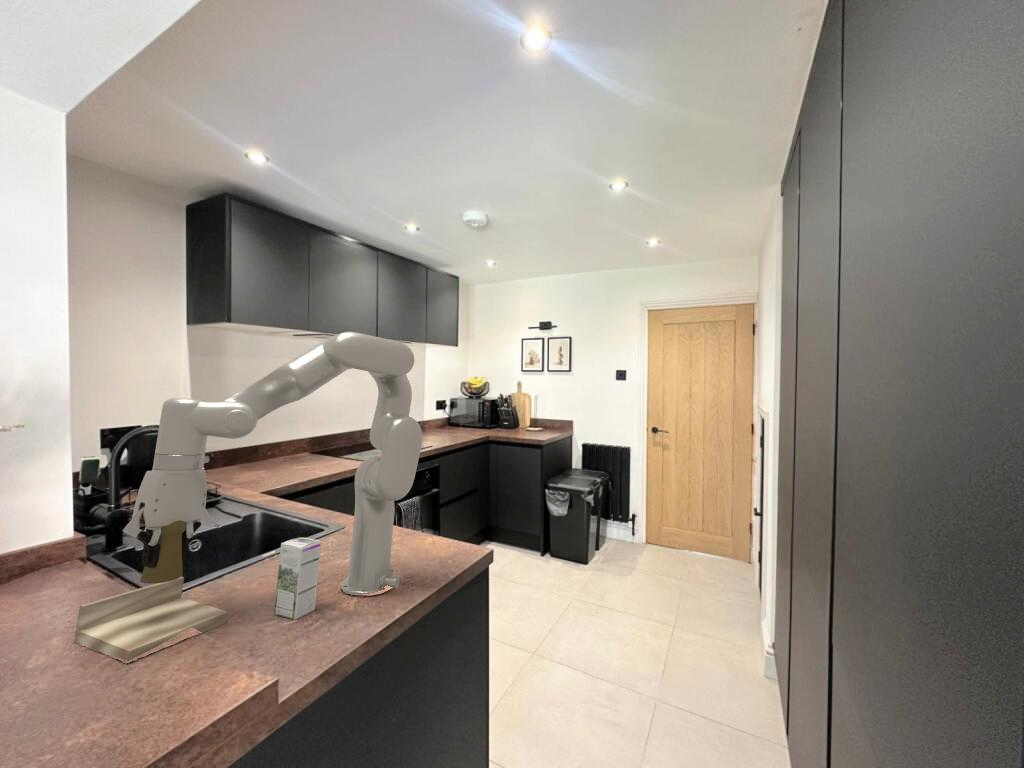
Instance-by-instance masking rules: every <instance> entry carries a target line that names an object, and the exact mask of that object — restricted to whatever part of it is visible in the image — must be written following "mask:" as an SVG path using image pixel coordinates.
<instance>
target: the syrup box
mask: <svg viewBox="0 0 1024 768" xmlns="http://www.w3.org/2000/svg"><path fill="white" fill-rule="evenodd" d="M321 549H322V540H318V539H313V538H308V537H300V536H299V537H296V538H291V539H289V540H286V541H284V542H281V543H280V552H279V561H278V570H277V571H278V572H277V580H276V581H277V582H276V591H275V599H274V600H275V601H274V608H273V609H274V610H273V615H275V616H279V617H282V618H286V619H289V620H293V621H295V620H298V619H299V618H302V617H303V616H305V615H307V614H310V613H311V612H313V611H315V609H316V603H317V602H316V601H317V589H318V578H319V567H320V559H321Z"/></svg>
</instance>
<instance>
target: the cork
mask: <svg viewBox="0 0 1024 768" xmlns="http://www.w3.org/2000/svg"><path fill="white" fill-rule="evenodd" d="M186 527H187V523H186V522H184V521H181V520H180V521H175V522H173V523H171V524H170V525H167V526H165V527H162V529H161V534H160V537H159V539H158V542H157V544H158V545H160V553H159V559H158V563H157V566H156V567H155V568H149V567H145V566H143V570H142V574H141V576H140V582H141V583H142V584H150V585H153V584H157V583H164V582H169V581H173V580H176V579H178V578H180V577H183V573H184V572H183V561H182V533H183V532H184V531H185V529H186ZM152 531H153V530H152Z"/></svg>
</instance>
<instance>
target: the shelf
mask: <svg viewBox="0 0 1024 768" xmlns="http://www.w3.org/2000/svg"><path fill="white" fill-rule="evenodd" d="M184 579H185V577H184V576H182V577H180V578H178V579H176V580H173V581H169V582H164V583H156V584H150V585H145V586H142V587H139V588H135V589H133V590H130V591H125V592H123V593H119V594H115V595H112V596H108V597H106V598H101V599H97V600H95V601H91V602H87V603H84V604H83V603H82V604H80V605H79V610H78V614H77V621H76V627H75V633H74V634H75V635H74V639H73V640H74V641H73V642H74V643H75V644H77V645H80V646H82V647H84V646H86V647H85V648H87V647H89V648H92V649H95V650H97V651H100V652H102V653H106V654H109V655H112V656H115V657H118V658H121V659H124V660H127V661H129V660H131V659H133V658H135V657H137V656H139V655H141V654H143V653H145V652H147V651H149V650H151V649H153V648H155V647H157V646H159V645H161V644H162V643H164V642H166V641H168V640H169V639H171V638H173V637H175V636H176V635H178V634H180V633H181V632H183V631H185V630H187V629H189V628H194V629H196V630H198V631H200V632H202V633H201V634H204V633H205V632H208V631H210V630H213V629H215V628H217V627H219V626H222V625H224V624H227V623H228V617H229V611H227V610H223V609H221V608H217V607H214V606H211V605H207V604H204V603H200V602H197V601H194V600H191V599H188V598H183V597H182V594H183V588H184V581H185V580H184ZM89 648H88V649H89Z"/></svg>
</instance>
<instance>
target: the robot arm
mask: <svg viewBox="0 0 1024 768" xmlns="http://www.w3.org/2000/svg"><path fill="white" fill-rule="evenodd" d="M414 365H415V354H414V352H413V350H412V349H411V348H410V346H408V345H406V343H403V342H401V341H397V340H394V339H390V338H389V339H388V338H383V337H380V336H379V337H378V336H375V335H374V336H373V335H370V334H365V333H360V332H355V331H344V332H341V333H338V334H335V335H332V336H330V337H328V338H326V339H325V340H322V341H321V342H319V343H318V344H316V345H314V346H313V347H311V348H309V349H307V350H306V351H304V352H303V353H300V354H298V356H296V357H294V358H292V359H291V360H289V361H287V362H285V363H283V364H282V365H280V366H279V367H277V368H275V369H274V370H272V371H271V372H270V373H268V374H267V375H265V376H263V377H262V378H260V379H259V380H257V381H255V382H253V383H252V384H250V385H248V386H247V387H245V388H243V389H241V390H240V391H238V392H236V393H235V394H232V395H231V396H230V397H228V398H226V399H225V400H223V401H216V402H215V401H206V400H202V399H194V398H180V397H179V398H177V397H176V398H175V397H174V398H173V397H172V398H168V399H166V400H165V401H164V402H163V404H162V407H161V413H160V419H159V425H158V432H157V438H156V444H155V451H154V458H153V465H152V470H147V471H146V472H145V474H144V476H143V479H142V481H141V483H140V486H139V489H138V492H137V496H136V500H135V504H134V507H133V513H132V517H131V520H130V521H129V522H128V523H127V524H126V525H125V527H124V528H123V529H122V531H123V533H125V534H127V535H130V536H131V537H132V536H133V537H134V538H136V539H137V540H138V541H139V542H140V543H141V544H143V548H142V553H141V559H140V560H141V564H142V566H143V567H149V568H155V567H156V566H157V563H158V559H159V553H160V545H158V544H157V542H158V539H159V537H160V534H161V529H162V527H165V526H167V525H170V524H171V523H173V522H175V521H180V520H181V521H184V522H186V523H187V527H186V529H185V531H184V532H183V533H182V562H183V561H186V559H187V554H188V551H189V545H190V539H191V538H193V537H194V535H195V534H194V533H196V531H197V530H199V528H201V525H204V524H205V523H206V522H207V521H209V520H210V519H211V515H210V513H209V512H208V510H207V508H206V506H207V505H206V504H207V494H208V493H207V490H208V489H207V488H208V485H207V482H208V481H207V472H206V469H204V466H205V464H207V463H209V462H210V456H208V455H206V448H207V442H208V436H209V437H214V438H215V437H217V438H224V439H227V440H228V439H229V440H230V439H231V440H234V439H235V440H236V439H242V438H244V437H247V436H248V435H250V434H251V433H252V432H253V431H254V430H255V428H256V426H257V424H258V421H259V420H261V419H263V418H264V417H266V416H267V415H268V414H271V413H272V412H273V411H274V412H275V411H276V410H278V409H279V408H281V407H284V406H286V405H289V404H292V403H294V402H297V401H300V400H302V399H304V398H305V397H308V396H309V395H311V394H313V393H314V392H316V391H317V390H319V389H320V388H322V386H324V385H326V384H328V383H329V382H330V381H332V380H334V379H335V378H336V377H338V376H340V375H341V374H343V373H345V372H346V371H348V370H351V369H354V370H360V371H365V372H368V374H370V376H371V377H372V378H373V380H374V381H375V384H376V386H377V391H378V395H377V402H376V407H375V411H374V415H373V420H372V424H371V427H370V431H369V441H370V444H371V445H372V446H373V447H374V448H375V449H377V450H379V451H381V454H380V456H378V455H376V456H370V457H368V458H365V459H364V460H363V461H362V462H361V463H360V464H359V466H358V467H357V469H356V471H355V474H354V496H355V497H354V500H355V501H354V502H355V503H354V515H353V516H354V517H353V523H352V524H353V526H352V536H351V546H350V555H349V556H350V557H349V566H348V567H349V568H348V576H347V577H346V578H344V579H343V580H342V581H341V583H340V590H341V589H342V590H343V591H344V592H346V593H348V594H353V595H362V594H370V593H375V592H378V591H381V590H384V589H385V588H384V587H385V586H387V585H388V586H390V587H393V588H395V589H397V588H398V587H400V584H401V583H400V582H401V580H402V576H401V575H398V574H396V575H395V574H394V567H393V566H391V555H392V545H393V543H392V542H393V533H394V522H395V501H399V500H402V499H403V498H404V497H406V496H407V494H408V493H409V492H410V491H411V488H412V487H413V484H414V482H415V481H414V480H415V477H416V472H417V469H418V468H417V467H418V465H419V459H420V455H421V449H422V444H423V432H422V431H423V430H422V428H421V425H420V423H418V421H417V420H416V419H415V418H413V417H412V416H410V411H411V405H412V399H413V398H412V397H413V393H412V392H413V391H412V386H411V383H410V380H409V377H408V376H407V374H408V373H410V372H411V370H412V369H413V367H414ZM140 526H141V527H142V526H145V528H144V530H142V529H140ZM152 530H153V531H152ZM347 578H348V579H347ZM382 587H383V588H382ZM344 592H343V593H344ZM346 593H345V594H346ZM348 594H347V595H348Z"/></svg>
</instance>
